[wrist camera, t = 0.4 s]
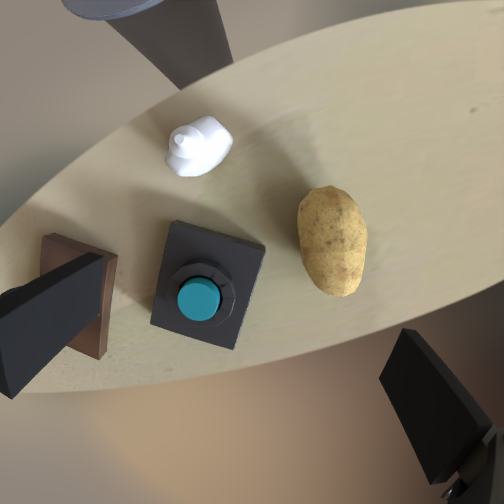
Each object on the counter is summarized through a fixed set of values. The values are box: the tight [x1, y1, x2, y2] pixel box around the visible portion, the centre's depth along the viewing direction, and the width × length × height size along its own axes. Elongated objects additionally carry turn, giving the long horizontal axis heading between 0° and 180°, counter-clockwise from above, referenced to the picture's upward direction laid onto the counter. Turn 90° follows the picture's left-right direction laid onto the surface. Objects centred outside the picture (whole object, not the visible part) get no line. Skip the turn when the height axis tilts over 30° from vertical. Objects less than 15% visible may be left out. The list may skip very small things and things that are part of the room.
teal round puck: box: [177, 277, 220, 321], centre depth 31 cm, size 4×4×2 cm
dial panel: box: [40, 233, 118, 360], centre depth 35 cm, size 14×10×3 cm
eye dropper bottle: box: [165, 116, 233, 176], centre depth 26 cm, size 4×6×12 cm
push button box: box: [150, 220, 266, 350], centre depth 33 cm, size 12×10×4 cm
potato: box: [297, 186, 367, 297], centre depth 30 cm, size 7×11×6 cm, turn 9°
